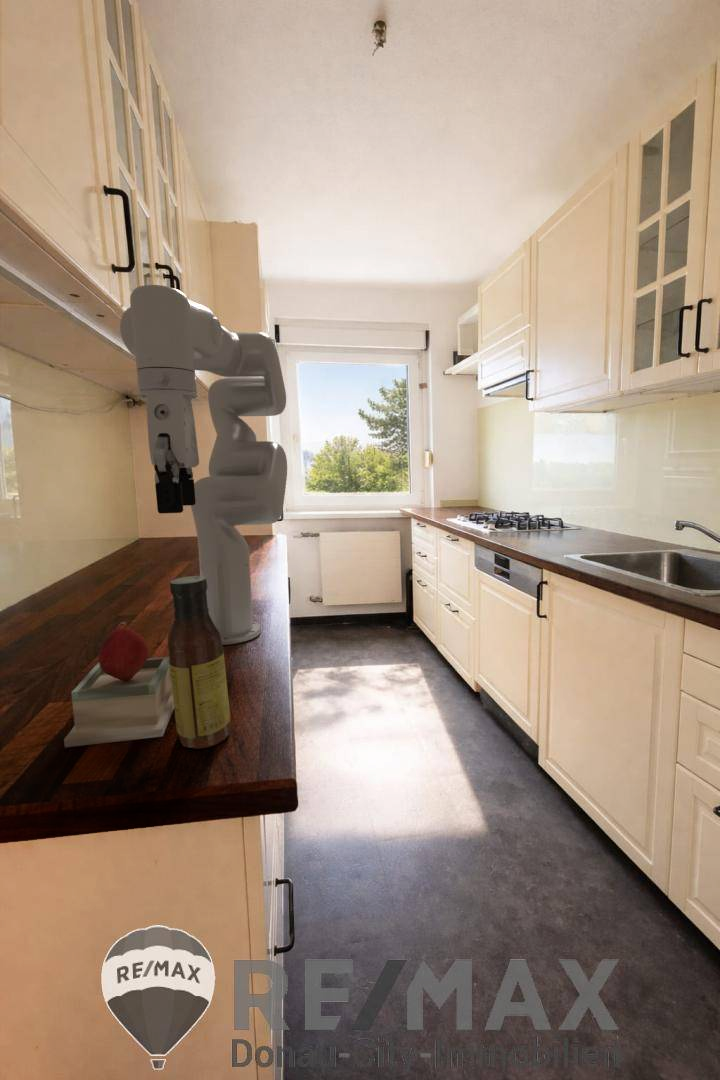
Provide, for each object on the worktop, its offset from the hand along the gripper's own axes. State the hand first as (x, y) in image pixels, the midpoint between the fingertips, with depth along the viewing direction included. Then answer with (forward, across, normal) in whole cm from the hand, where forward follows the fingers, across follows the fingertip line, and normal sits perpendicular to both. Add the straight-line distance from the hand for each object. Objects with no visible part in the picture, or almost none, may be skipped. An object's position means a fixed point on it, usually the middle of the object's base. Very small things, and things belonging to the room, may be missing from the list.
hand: (178, 508), depth 69 cm
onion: (+22, -9, +6) cm, 25 cm away
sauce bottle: (+27, -17, -4) cm, 32 cm away
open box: (+27, -10, +7) cm, 29 cm away
